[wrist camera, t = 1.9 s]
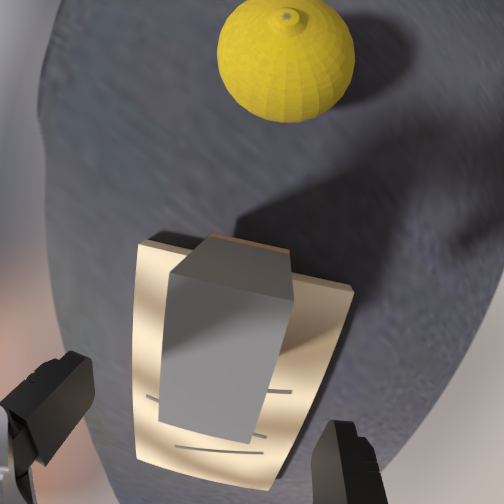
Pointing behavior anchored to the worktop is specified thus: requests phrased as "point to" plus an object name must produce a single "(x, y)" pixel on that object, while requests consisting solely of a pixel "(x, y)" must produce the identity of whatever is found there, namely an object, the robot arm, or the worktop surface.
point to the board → (278, 395)
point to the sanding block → (223, 335)
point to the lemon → (286, 58)
